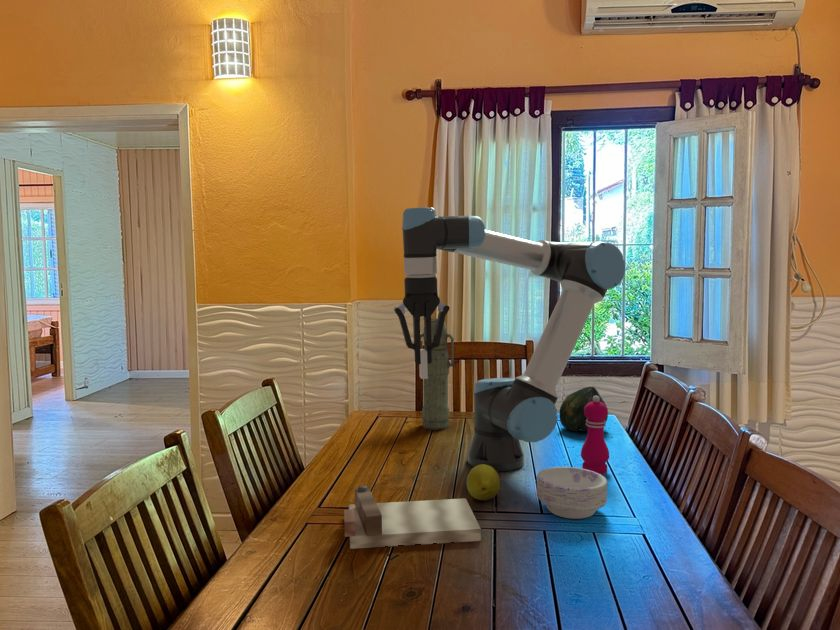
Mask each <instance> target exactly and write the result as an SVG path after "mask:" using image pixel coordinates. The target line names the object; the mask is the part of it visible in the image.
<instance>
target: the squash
mask: <svg viewBox="0 0 840 630" xmlns="http://www.w3.org/2000/svg"><path fill="white" fill-rule="evenodd" d="M594 396H598V397H599V398H600V401H599V402H602V403H604V404H605V405H606V402H605V401H604V399H603V397H602V396H601V395H600V393H599V391H598V390H597V388H595V386H587V387H583V388H581V389H578V390H576V391H574V392H572V393H569V394H568V395H567V396H566V397H565V398H564V400H563V401H562V403H561V405H560V408H559V416H558V417H559V421H560V424H561V426H562V427H563V428H565V429H566V430H568V431H572V432H579V431H581V432H586V431H587V432H588V427H587V425H586V419H587V417H586V416H585V414H584V408H585V406H586V404H588V403H589V402H592V401H593V397H594ZM606 407H607V408H608V405H606ZM608 417H609V414H608V415H607V417H606V418H605V419H604V420H605V421H606V423H607V420H608ZM606 423H605V424H606Z"/></svg>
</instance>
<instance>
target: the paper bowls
mask: <svg viewBox="0 0 840 630" xmlns="http://www.w3.org/2000/svg"><path fill="white" fill-rule="evenodd" d="M536 498H538V500H539V501H541V502H542V503H544V504H545V506H546V508H547V510H548V511H549V512H550V513H552V514H553V515H555V516H557V517H561V518H565V519H568V520H581V519H586V518H589V517H592V516H593V515H594V514H595V513H596V511H597V510H598V509H601V508H604V506H606V504H607V502H608V480H607V478H606V477H605V476H604V475H603V474H602V475H601V474H599V473H597V472H594V471H591V470H587V469H583V468H582V467H576V466H575V467H574V466H573V467H572V466H553V467H546V468H544V469H542V470H540V471H539V472H538V473H537V475H536Z"/></svg>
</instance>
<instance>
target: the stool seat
mask: <svg viewBox="0 0 840 630" xmlns="http://www.w3.org/2000/svg"><path fill="white" fill-rule="evenodd" d="M376 504H377V506H378V508H379V510H380V512H381V514H382V535H376V536H366V533H365V530H364V528H363V525H362V523H361V520H360V517H359V515H358V512H357V510H356V507H355V503H354V504H353V503H351V504H348V509H344V510H343V512H344V513H343V516H344V537H346V538H347V537H349V549H350V550H351V549H353V550H355V549H369V548H385V546H388V547H399V546H398V545H404V546H415V544H421V545H432V544H433V543H437V544H450V543H451V542H454V543H468V542H481V541H482V538H481V537H482V535H481V534H482V528H481V527H480V524H479V522H478V520H477V519H476V516H475V514H474V512H473V510H472V508H471V506H470V505H469V502H468V500H467V498H463V497H462V498H450V499H449V498H448V499H429V500H427V499H426V500H410V501H408V500H407V501H391V502H376ZM433 545H434V544H433Z"/></svg>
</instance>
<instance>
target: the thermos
mask: <svg viewBox="0 0 840 630" xmlns="http://www.w3.org/2000/svg"><path fill="white" fill-rule="evenodd" d="M436 323H437V318H431V338H432V342H433V337H434V333H435V328H436ZM422 337H423V345H424V346H423V349H425V333H424V332H423V333H420V343H421V344H422ZM448 338H449V339H450V355H449V352H448V347H447V344H448ZM454 339H455V338H454V336H453V335H452V334H451V333H448V327H447V324H446V321H445V320H444V325H443V330H442V334H441V339H440V344H439V346H438V347H435V348H433V349H432V362H431V363H430V364H427V367H428V379H423V406H422V408H421V419H422V428H424V429H425V430H426V429H427V430H431V429H432V430H433V431H434V430H436V431H439V430H438V429H441V430H445V429H448V428H449V427H450V421H449V420H450V406H449V403H448V402H449V396H448V395H449V394H448V393H449V391H448V390H449V389H448V387H449V385H448V384H449V381H448V380H449V377H448V376H449V374H450V367H453V366H454V360H455V359H454V354H455V352H454V350H455V349H454V345H455V343H454Z"/></svg>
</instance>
